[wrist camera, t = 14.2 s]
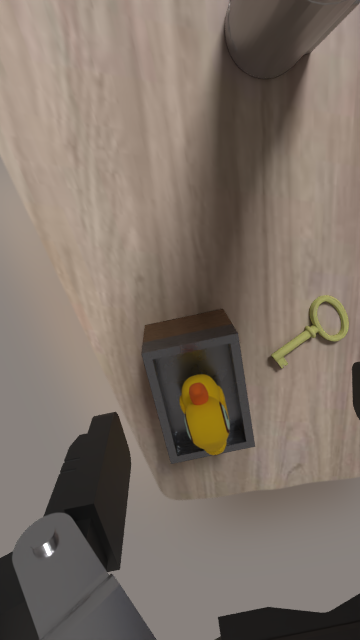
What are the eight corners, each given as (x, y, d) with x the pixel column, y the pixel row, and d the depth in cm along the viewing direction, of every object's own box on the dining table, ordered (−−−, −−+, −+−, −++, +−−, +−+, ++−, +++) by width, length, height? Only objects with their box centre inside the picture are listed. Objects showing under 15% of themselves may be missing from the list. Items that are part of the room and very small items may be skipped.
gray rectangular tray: (222, 308, 45) (237, 333, 36) (238, 405, 50) (255, 446, 42) (144, 325, 45) (141, 353, 36) (169, 419, 50) (171, 463, 42)
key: (264, 354, 48) (269, 360, 46) (322, 288, 45) (329, 291, 43) (299, 378, 50) (305, 385, 48) (356, 316, 47) (365, 321, 45)
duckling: (166, 356, 39) (169, 404, 30) (209, 344, 39) (225, 388, 30) (190, 430, 43) (199, 493, 34) (230, 419, 43) (249, 479, 34)
